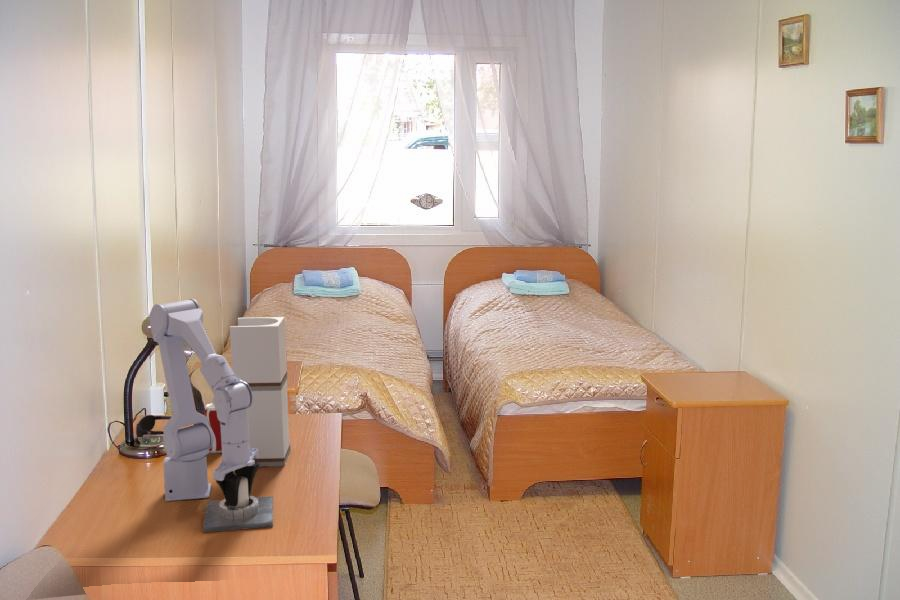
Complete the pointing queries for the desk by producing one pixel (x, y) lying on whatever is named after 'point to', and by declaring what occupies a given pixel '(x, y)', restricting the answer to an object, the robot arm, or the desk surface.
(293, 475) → the desk surface
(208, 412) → the soda can
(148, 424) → the sunglasses
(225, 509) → the duct base
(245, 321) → the tall hollow white pillar
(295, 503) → the desk surface
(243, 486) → the cylinder
